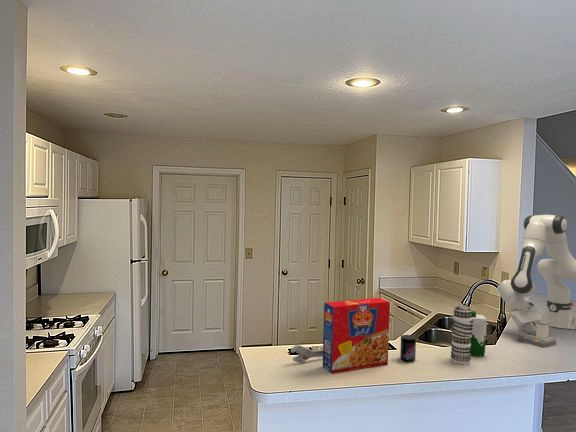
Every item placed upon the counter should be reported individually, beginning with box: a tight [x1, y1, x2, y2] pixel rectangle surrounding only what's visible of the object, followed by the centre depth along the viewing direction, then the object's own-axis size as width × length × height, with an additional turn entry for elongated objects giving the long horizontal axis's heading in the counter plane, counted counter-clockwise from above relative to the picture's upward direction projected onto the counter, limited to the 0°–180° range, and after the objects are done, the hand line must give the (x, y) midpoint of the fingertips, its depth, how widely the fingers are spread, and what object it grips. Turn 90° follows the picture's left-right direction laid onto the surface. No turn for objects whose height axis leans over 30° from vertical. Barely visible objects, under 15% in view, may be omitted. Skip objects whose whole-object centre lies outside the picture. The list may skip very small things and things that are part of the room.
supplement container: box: [399, 334, 417, 363], centre depth 195 cm, size 7×7×10 cm
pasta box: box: [322, 297, 391, 375], centre depth 186 cm, size 28×8×28 cm, turn 114°
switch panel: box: [517, 331, 557, 349], centre depth 225 cm, size 12×13×4 cm
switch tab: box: [535, 321, 550, 339], centre depth 222 cm, size 4×4×9 cm
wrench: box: [290, 344, 323, 364], centre depth 193 cm, size 8×2×30 cm
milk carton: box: [470, 310, 487, 358], centre depth 205 cm, size 9×9×20 cm
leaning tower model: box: [450, 304, 473, 365], centre depth 195 cm, size 9×9×25 cm
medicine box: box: [517, 325, 535, 333], centre depth 245 cm, size 8×4×9 cm, turn 84°
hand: (537, 330), depth 225 cm, fingers closed, pressing on switch tab
